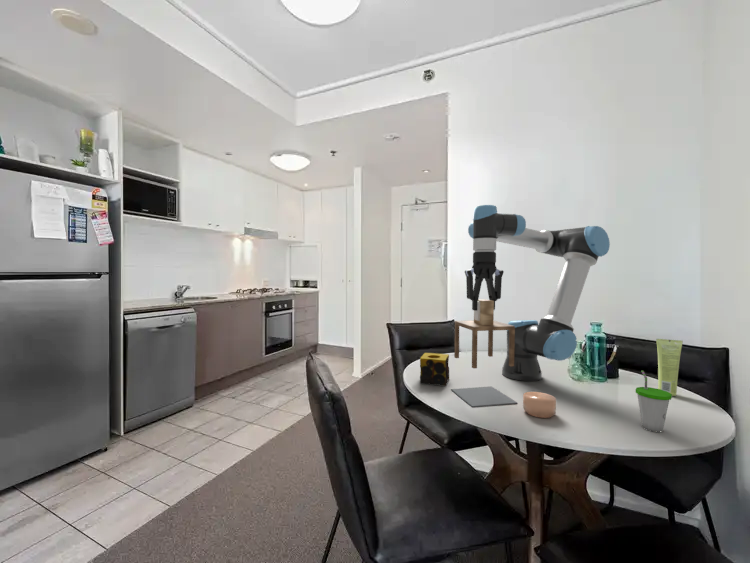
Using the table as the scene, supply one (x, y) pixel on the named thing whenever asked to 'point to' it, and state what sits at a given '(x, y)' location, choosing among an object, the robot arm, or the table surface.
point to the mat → (483, 396)
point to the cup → (652, 406)
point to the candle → (434, 369)
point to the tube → (668, 364)
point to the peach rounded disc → (539, 404)
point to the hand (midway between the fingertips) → (483, 319)
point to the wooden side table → (485, 325)
